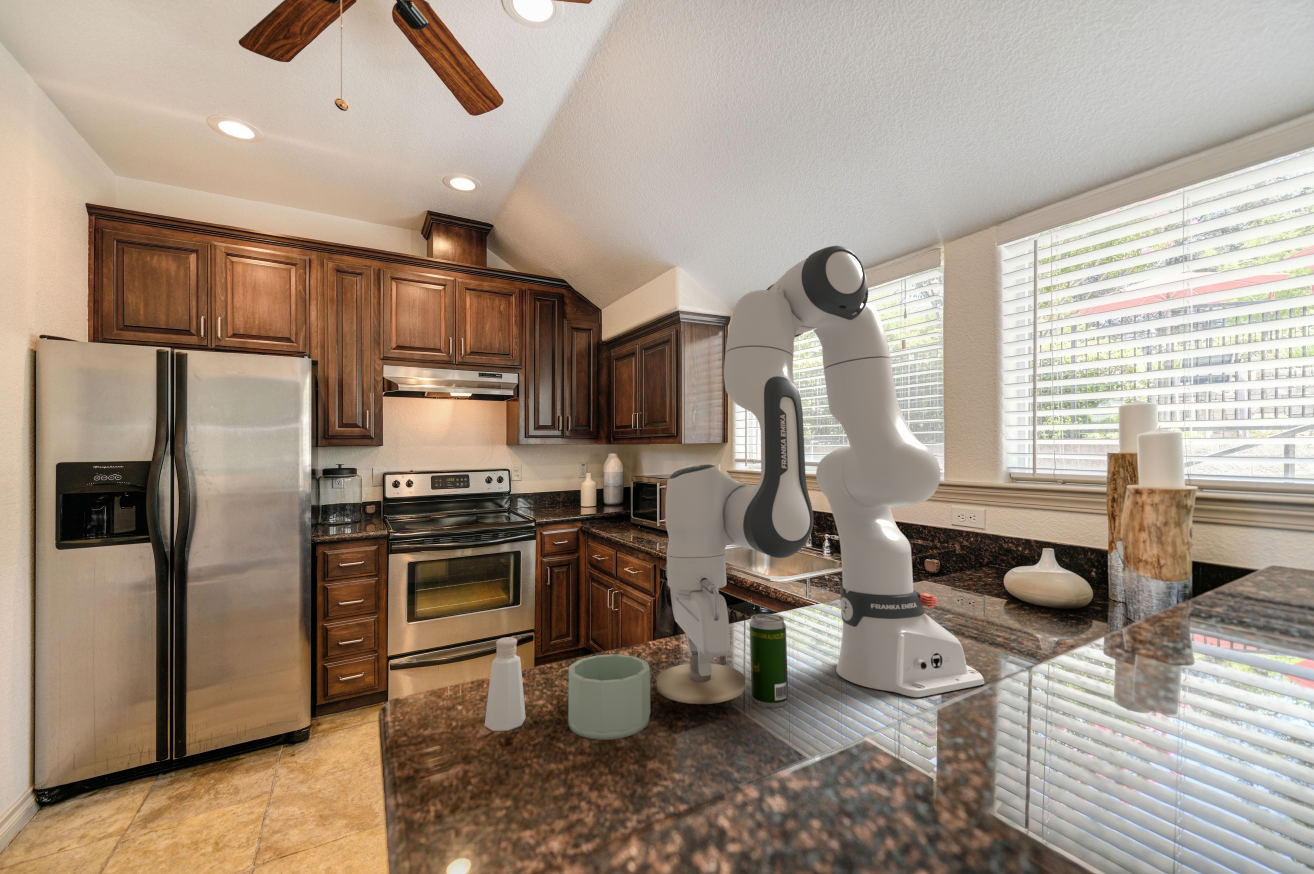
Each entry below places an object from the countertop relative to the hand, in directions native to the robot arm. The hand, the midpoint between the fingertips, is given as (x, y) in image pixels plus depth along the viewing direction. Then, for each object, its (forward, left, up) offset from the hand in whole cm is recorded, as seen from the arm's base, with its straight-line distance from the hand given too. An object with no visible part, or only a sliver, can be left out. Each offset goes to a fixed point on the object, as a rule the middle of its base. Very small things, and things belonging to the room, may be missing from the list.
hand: (700, 668), depth 77 cm
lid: (0, 0, -2) cm, 2 cm away
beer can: (-10, +1, -5) cm, 12 cm away
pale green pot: (+14, +3, -5) cm, 15 cm away
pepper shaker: (+28, +1, -5) cm, 28 cm away
